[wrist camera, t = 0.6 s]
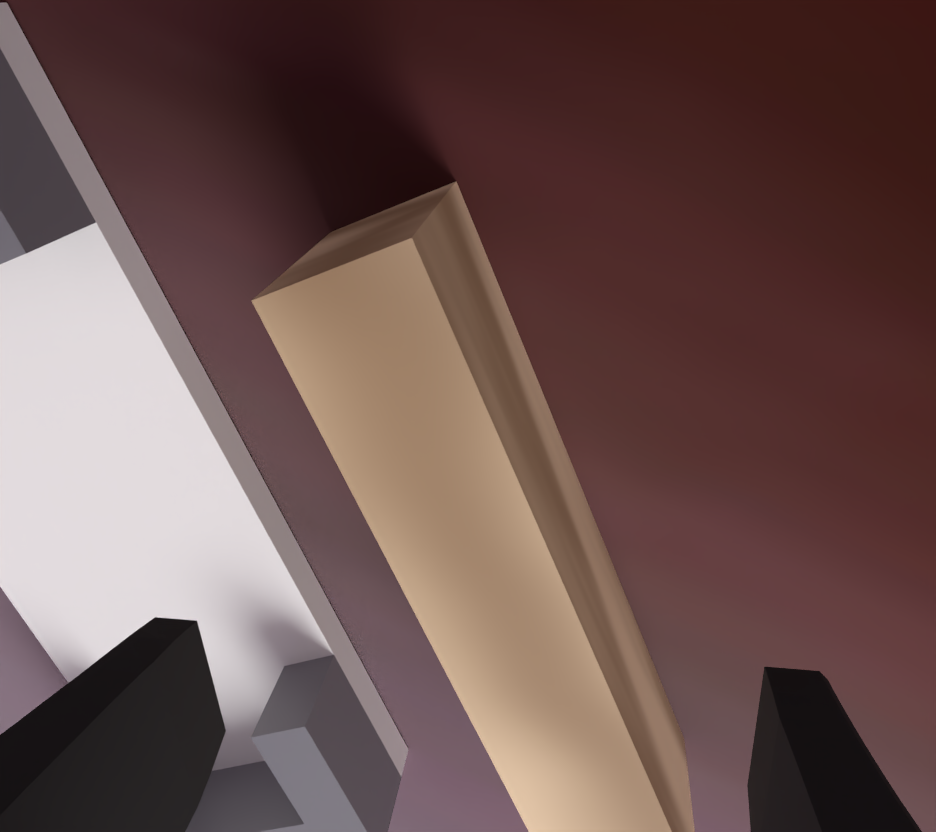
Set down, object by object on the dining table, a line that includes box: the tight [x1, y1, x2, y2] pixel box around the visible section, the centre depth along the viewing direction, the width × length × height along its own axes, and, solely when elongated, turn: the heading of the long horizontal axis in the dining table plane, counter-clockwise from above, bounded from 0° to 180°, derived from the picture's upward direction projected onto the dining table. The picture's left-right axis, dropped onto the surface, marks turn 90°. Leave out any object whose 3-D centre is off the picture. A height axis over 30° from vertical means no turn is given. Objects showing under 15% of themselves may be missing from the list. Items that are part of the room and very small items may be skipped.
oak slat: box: [252, 182, 695, 832], centre depth 19 cm, size 3×16×5 cm, turn 23°
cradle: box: [0, 3, 408, 832], centre depth 21 cm, size 8×21×4 cm, turn 22°
